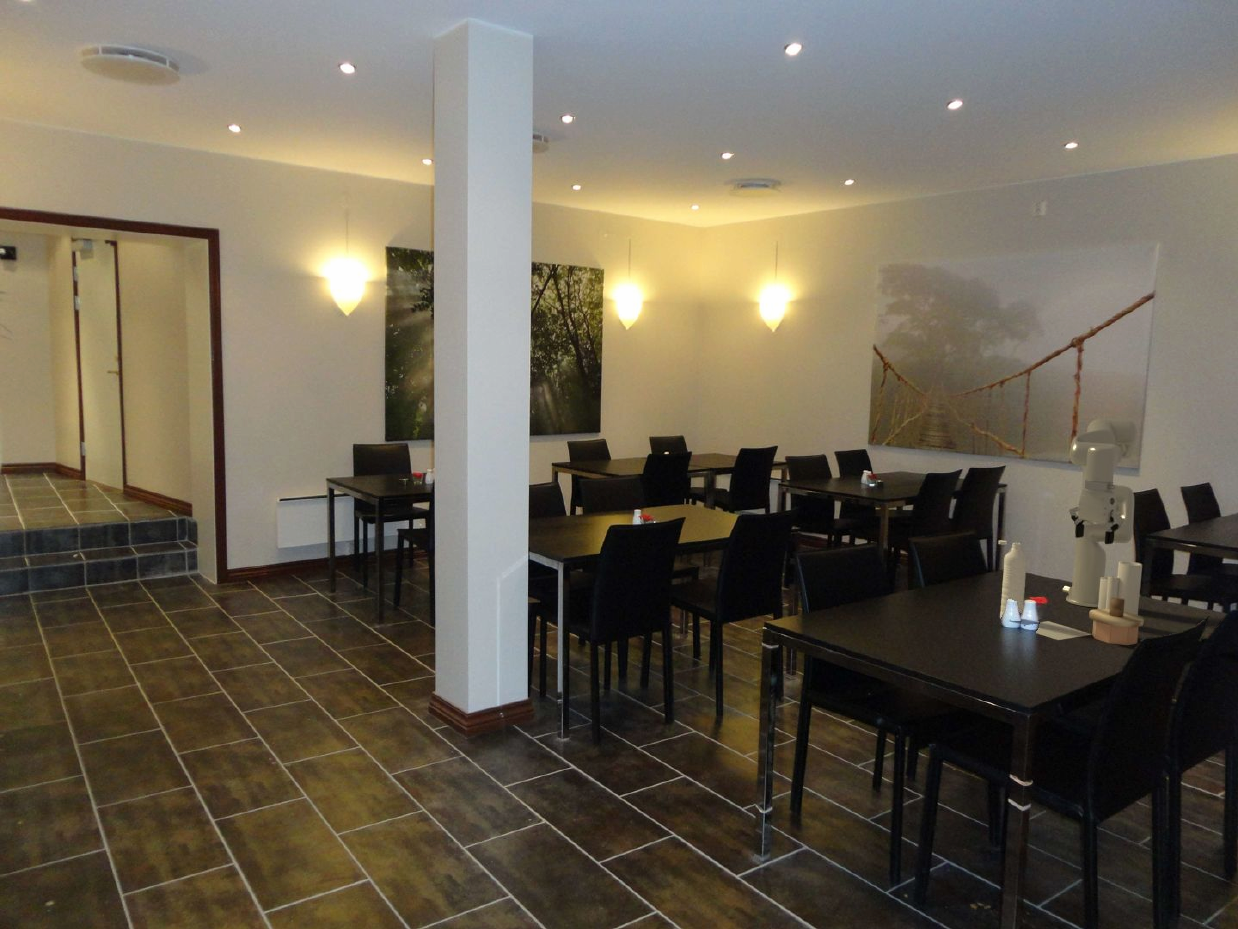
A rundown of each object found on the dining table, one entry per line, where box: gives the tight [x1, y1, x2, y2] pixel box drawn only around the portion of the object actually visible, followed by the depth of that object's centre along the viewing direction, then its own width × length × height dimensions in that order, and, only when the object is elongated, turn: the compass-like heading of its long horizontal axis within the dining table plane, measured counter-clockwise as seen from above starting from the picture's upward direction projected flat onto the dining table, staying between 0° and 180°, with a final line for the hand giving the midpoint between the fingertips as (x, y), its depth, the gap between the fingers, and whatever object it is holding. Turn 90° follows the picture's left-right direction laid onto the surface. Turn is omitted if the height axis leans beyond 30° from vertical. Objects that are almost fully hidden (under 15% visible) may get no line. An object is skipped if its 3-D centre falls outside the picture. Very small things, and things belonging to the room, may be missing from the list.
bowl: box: [1091, 620, 1139, 646], centre depth 259 cm, size 11×11×6 cm
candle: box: [1097, 560, 1143, 615], centre depth 276 cm, size 11×7×20 cm, turn 50°
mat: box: [1035, 620, 1093, 641], centre depth 266 cm, size 15×15×1 cm
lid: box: [1088, 597, 1145, 628], centre depth 258 cm, size 14×14×6 cm
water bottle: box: [998, 540, 1028, 619], centre depth 278 cm, size 9×6×25 cm
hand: (1093, 540), depth 270 cm, fingers open, 9 cm apart
